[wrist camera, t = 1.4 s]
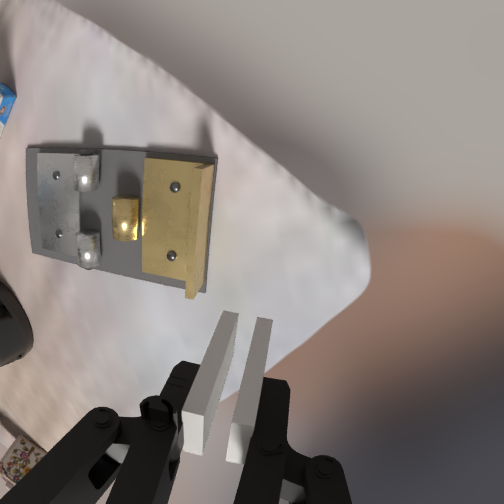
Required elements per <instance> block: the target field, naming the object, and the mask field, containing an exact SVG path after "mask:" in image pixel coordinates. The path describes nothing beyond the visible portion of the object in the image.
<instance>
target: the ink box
mask: <svg viewBox="0 0 504 504" xmlns="http://www.w3.org/2000/svg"><path fill="white" fill-rule="evenodd" d="M15 99H16V94H14V93H13V92H12V91H11V90H10V89H9V88H8V87H7V86H5V85H4V84H3V83H0V138H1V135H2V132H3V129H4V126H5V124H6V121H7V118H8V116H9V113H10V111H11V108H12V106H13V104H14V101H15Z"/></svg>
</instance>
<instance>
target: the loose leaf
mask: <svg viewBox="0 0 504 504" xmlns="http://www.w3.org/2000/svg"><path fill="white" fill-rule="evenodd" d="M214 170H215V164H211V163H203V162H194V161H185V160H175V159H164V158H152V157H147V158H145V162H144V180H143V206H142V272H145V273H150V274H155V275H160V276H164V277H169V278H174V279H179V280H184V281H186V290H185V298H188V299H194V298H195V296H196V294H197V293H198V291H199V289H200V288H201V286H202V284H203V283H204V281H205V270H206V257H207V245H208V233H209V221H210V210H211V200H212V189H213V180H214ZM139 199H140V198H139V197H138V196H135V195H117V196H114V197H112V237H113V239H115V240H117V241H132V240H135V239H137V238H138V237H139Z"/></svg>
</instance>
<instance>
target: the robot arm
mask: <svg viewBox="0 0 504 504" xmlns="http://www.w3.org/2000/svg"><path fill="white" fill-rule="evenodd" d="M238 314H239V313H233V312H228V311H223V313H222V315H221V317H220V320H219V322H218V325H217V327H216V329H215V332H214V334H213V336H212V339H211V341H210V344H209V346H208V348H207V351H206V353H205V356H204V358H203V360H202V363H201V365H199V364H195V363H190V362H186V361H181V362H180V363H179V364H177V365H176V366H175V367H174V368H173V370H172V372H171V374H170V377H169V378H168V380H167V382H166V384H165V386H164V388H163V390H162V392H161V394H160V396H157V395H155V396H150V397H147V398H146V399H144V400H143V401H142V402H141V403H140V404H139V405H140V411H141V416H140V417H119V416H118V414H117V413H116V412H115V411H114V410H113V409H110V408H108V407H98V408H94V409H92V410H91V411H89V412H88V413H87V414H86V415H85V416H84V417H83V418H82V419H81V420H80V421H79V422H78V423H77V424H76V425H75V426H74V427H73V428H72V429H71V430H70V431H69V432H68V433H67V434H66V435H65V436H64V437H63V438H62V439H61V440H60V441H59V442H58V443H57V444H56V445H55V446H54V447H53V448H52V449H51V450H50V451H49V452H48V453H47V454H46V455H45V456H44V457H43V458H42V459H41V460H40V461H39V462H38V463H37V464H36V465H35V466H34V467H33V468H32V469H31V470H30V471H29V472H28V473H27V474H26V475H25V476H24V477H23V478H22V479H21V480H20V481H18V482H17V483H16V484H15V485H14V486H13V487H12V488H11V489H10V490H9V491H8V492H7V493H6V494H5V495H4V496H3V497H2V498H1V499H0V504H95V503H96V502H97V501H98V500H99V499H100V497H101V496H102V495H103V494H104V492H105V491H106V490H107V489H108V488H109V486H110V485H111V484H112V482H113V481H114V480H115V479H116V480H115V482H114V485H113V487H112V489H111V492H110V494H109V497H108V499H107V501H106V504H168V500H169V497H170V493H171V490H172V487H173V483H174V480H175V477H176V473H177V470H178V466H179V463H180V453H181V450H182V448H183V449H184V451H186V452H189V453H193V454H198V455H201V456H202V455H203V452H204V449H205V446H206V442H207V439H208V436H209V433H210V429H211V426H212V423H213V419H214V417H215V413H216V410H217V407H218V404H219V400H220V397H221V394H222V391H223V387H224V384H225V381H226V378H227V374H228V371H229V368H230V364H231V361H232V358H233V353H234V345H235V338H236V330H237V322H238ZM272 322H273V320H271V319H266V318H260V317H257V321H256V325H255V329H254V333H253V337H252V341H251V346H250V350H249V354H248V358H247V362H246V366H245V370H244V374H243V378H242V382H241V386H240V390H239V394H238V399H237V402H236V407H235V410H234V414H233V419H232V422H231V429H230V436H229V442H228V449H227V456H226V461H229V462H233V463H239V464H244V468H243V471H242V475H241V478H240V482H239V486H238V489H237V493H236V496H235V500H234V503H233V504H278V503H279V499H280V498H282V499H285V500H287V501H289V504H352V501H351V498H350V494H349V490H348V486H347V483H346V479H345V475H344V471H343V468H342V466H341V464H340V463H339V462H338V461H337V460H336V459H335V458H333V457H330V456H326V455H319V456H315V457H314V458H309V457H307V456H304V455H302V454H300V453H298V452H296V451H295V450H293V449H292V448H291V447H290V445H289V444H288V441H287V427H288V414H289V403H290V401H289V400H290V388H289V386H288V383H287V381H285V380H279V379H273V378H266V377H263V376H264V370H265V365H266V359H267V353H268V347H269V340H270V334H271V328H272ZM32 346H33V334H32V330H31V327H30V324H29V321H28V319H27V317H26V315H25V313H24V311H23V309H22V307H21V306H20V304H19V302H18V301H17V300H16V298H15V297H14V295H13V294H12V293H11V292H10V291H9V290H8V289H7V288H6V287H5V286H4V285H3V284H2V283H1V282H0V367H2V366H4V365H6V364H9V363H11V362H14V361H16V360H18V359H21V358H23V357H24V356H25V355H26V354H27V353H28V352H29V351H30V350H31V349H32Z"/></svg>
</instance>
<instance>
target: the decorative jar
mask: <svg viewBox="0 0 504 504" xmlns="http://www.w3.org/2000/svg"><path fill="white" fill-rule="evenodd" d="M46 454H47V452H45V451H44V450H42V449H41V448H39V447H38V446H37V445H35V444H34V443H32V442H31V441H29V440H28V439H27V438H25V437H24V436H23V435H21V434H20V435H19V436H18V437H17V438H16V440H15V441H14V442H13V444H12V445H11V446H10V448H9V449H8V451H7V452H6V454H5V455H4V456H3V458H2V459H1V461H0V476H1V477H2V478H3V479H4V480H5V481H6V482H7V483H6V485H5V486H6V487H7V488H8V489H9V490H10V489H11V488H12V487H13V486H14V485H15V484H16V483H17V482H18V481H20V480H21V479H22V478H23V477H24V476H25V475H26V474H27V473H28V472H29V471H30V470H31V469H32V468H33V467H34V466H35V465H36V464H37V463H38V462H39V461H40V460H41V459H42V458H43V457H44V456H45V455H46Z"/></svg>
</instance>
